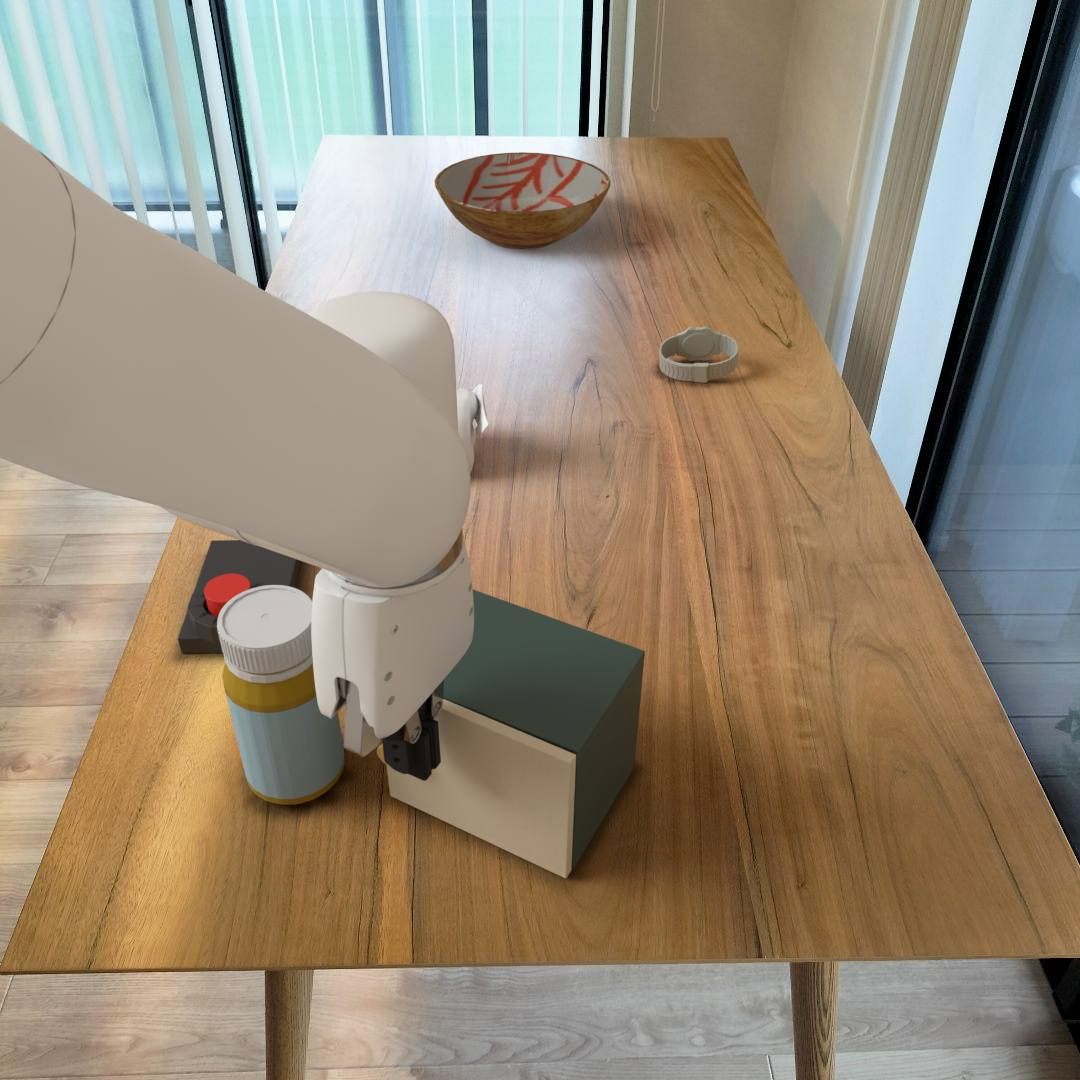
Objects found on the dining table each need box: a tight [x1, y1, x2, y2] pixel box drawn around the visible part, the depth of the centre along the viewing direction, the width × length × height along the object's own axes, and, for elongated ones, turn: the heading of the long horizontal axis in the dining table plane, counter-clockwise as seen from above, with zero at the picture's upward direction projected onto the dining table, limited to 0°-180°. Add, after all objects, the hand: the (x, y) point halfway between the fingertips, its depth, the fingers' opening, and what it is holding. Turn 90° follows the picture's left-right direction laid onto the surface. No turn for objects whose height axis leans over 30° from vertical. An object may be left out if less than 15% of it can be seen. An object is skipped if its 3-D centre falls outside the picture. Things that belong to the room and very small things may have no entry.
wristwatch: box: [658, 326, 739, 384], centre depth 124 cm, size 9×6×5 cm
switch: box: [177, 539, 302, 655], centre depth 91 cm, size 14×8×4 cm, turn 2°
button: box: [204, 574, 251, 617], centre depth 87 cm, size 4×4×2 cm
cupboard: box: [443, 589, 646, 871], centre depth 74 cm, size 10×14×12 cm
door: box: [376, 699, 576, 880], centre depth 69 cm, size 2×14×11 cm, turn 61°
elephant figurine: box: [456, 383, 489, 474], centre depth 108 cm, size 10×12×9 cm
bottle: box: [217, 585, 346, 806], centre depth 73 cm, size 7×7×15 cm
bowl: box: [434, 151, 611, 250], centre depth 156 cm, size 25×25×8 cm
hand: (412, 763), depth 68 cm, fingers closed
